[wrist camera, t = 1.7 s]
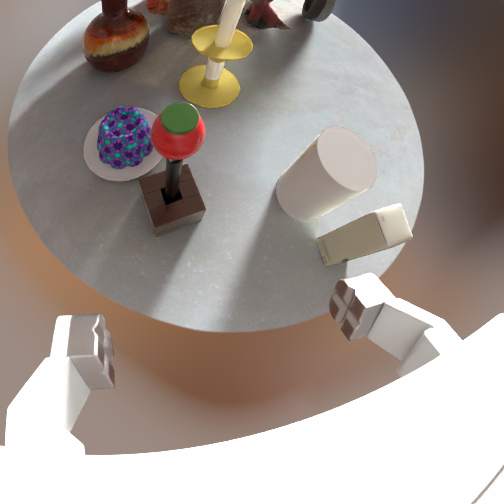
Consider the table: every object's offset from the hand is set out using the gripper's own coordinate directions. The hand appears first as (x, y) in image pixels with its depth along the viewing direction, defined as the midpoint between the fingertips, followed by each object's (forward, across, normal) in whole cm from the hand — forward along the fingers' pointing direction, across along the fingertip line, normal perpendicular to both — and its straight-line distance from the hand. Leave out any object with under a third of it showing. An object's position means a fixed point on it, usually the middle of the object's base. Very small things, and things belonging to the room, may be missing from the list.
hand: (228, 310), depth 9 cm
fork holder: (+27, 0, +9) cm, 28 cm away
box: (+22, -22, +14) cm, 34 cm away
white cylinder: (+27, -18, +8) cm, 34 cm away
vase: (+47, +9, -11) cm, 49 cm away
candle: (+41, -7, -5) cm, 42 cm away
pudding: (+34, +6, +2) cm, 34 cm away
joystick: (+27, 0, +9) cm, 28 cm away
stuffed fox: (+56, -20, -20) cm, 63 cm away
